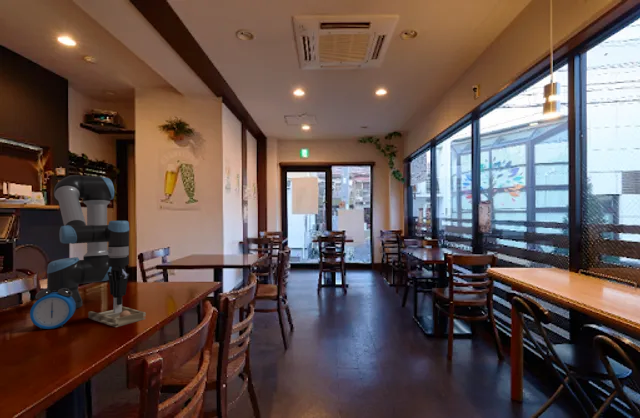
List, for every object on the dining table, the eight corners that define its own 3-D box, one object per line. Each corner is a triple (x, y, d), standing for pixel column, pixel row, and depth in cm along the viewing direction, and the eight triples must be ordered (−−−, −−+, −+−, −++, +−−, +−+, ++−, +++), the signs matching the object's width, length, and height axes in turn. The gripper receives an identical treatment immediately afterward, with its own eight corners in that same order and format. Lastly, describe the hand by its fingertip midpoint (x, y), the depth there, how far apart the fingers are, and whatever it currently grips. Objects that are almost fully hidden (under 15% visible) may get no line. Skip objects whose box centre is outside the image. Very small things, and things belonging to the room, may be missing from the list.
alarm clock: (28, 332, 121) (29, 292, 121) (35, 327, 126) (36, 288, 127) (71, 327, 126) (72, 288, 127) (75, 322, 132) (76, 285, 132)
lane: (88, 318, 137) (88, 311, 138) (118, 311, 148) (118, 304, 148) (115, 327, 126) (115, 319, 126) (145, 319, 136) (145, 311, 136)
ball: (116, 313, 133) (121, 310, 131) (126, 310, 136) (131, 308, 135) (118, 322, 132) (123, 320, 130) (128, 319, 136) (133, 317, 134)
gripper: (101, 256, 137) (100, 312, 137) (117, 258, 131) (116, 316, 130) (119, 254, 144) (118, 307, 143) (135, 256, 137) (135, 312, 136)
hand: (117, 312), depth 137 cm, fingers closed
